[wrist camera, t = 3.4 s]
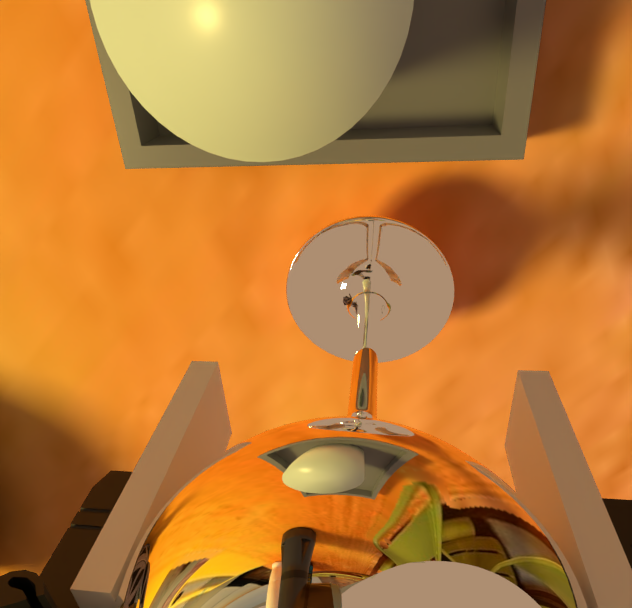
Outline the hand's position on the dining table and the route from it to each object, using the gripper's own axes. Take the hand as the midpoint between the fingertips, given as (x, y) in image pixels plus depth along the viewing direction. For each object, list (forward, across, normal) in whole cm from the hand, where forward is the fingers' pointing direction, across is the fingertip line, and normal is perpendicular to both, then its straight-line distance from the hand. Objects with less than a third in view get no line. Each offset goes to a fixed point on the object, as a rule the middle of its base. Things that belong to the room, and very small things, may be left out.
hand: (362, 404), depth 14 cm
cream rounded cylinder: (+9, -2, +10) cm, 13 cm away
